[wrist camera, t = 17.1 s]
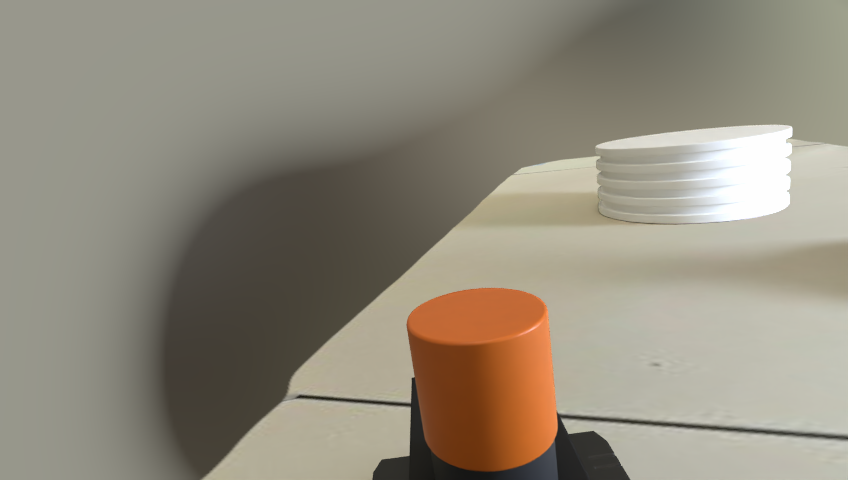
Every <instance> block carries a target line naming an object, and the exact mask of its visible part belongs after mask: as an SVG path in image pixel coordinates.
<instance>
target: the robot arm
mask: <svg viewBox="0 0 848 480" xmlns="http://www.w3.org/2000/svg"><path fill="white" fill-rule="evenodd" d="M556 411H557V410H556ZM557 422H558V429H557V434H556V437H555V449H556V460H557V471H558V480H630V479H629V477H628V475H627V474H626V472H625V470H624V469H623V467H622V466H621V464H620V462H619V460H618V459H617V457H616V456H615V455H614V452H613V450H612V449H611V447H610V445H609V444H608V442H607V441H606V440H605V439H604V438H602V437H601V436H600V435H598V434H597V433H595V432H594V431H590V432H582V433H574V434H568V433H567V431H566V429H565V427H564V425H563V423H562V421H561V418H560V416H559V414H558V412H557ZM373 480H435V474H434V468H433V462H432V455H431V449H430V448H429V446H428V445H427V443H426V441H425V437H424V431H423V425H422V419H421V412H420V406H419V400H418V394H417V387H416V381H415V377H414V378H412V394H411V428H410V456H406V457H399V458H391V459H383V460H381V462H380V463H379V465H378V466H377V468H376V469H375V471H374V472H373Z"/></svg>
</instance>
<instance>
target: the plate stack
mask: <svg viewBox="0 0 848 480" xmlns="http://www.w3.org/2000/svg"><path fill="white" fill-rule="evenodd" d="M791 136H792V127H791V126H786V125H752V126H736V127H722V128H709V129H698V130H688V131H679V132H671V133H662V134H654V135H647V136H640V137H633V138H626V139H622V140H615V141H610V142H606V143H602V144H599V145H597V146H596V147H595V150H596V154H597V155H599V156H600V157H601V158H600V159H598V160H597V161H596V168H597V169H598V170H600V171H601V172H600V173H599V174H597V183H598V184H599V185H601V186H600V187H599V188H598V198H599V199H601V200H600V201H599V203H598V206H599V212H600V213H601V214H602V215H604V216H607V217H610V218H613V219H618V220H623V221H630V222H640V223H656V224H693V223H712V222H724V221H733V220H741V219H748V218H754V217H759V216H763V215H768V214H771V213H775V212H777V211H780V210H782V209H784V208H786V207H787V206H788V205H789V193H788V192H786V190H788V189H789V187H790V177H789V176H787V175H785V174H787V173H788V172H789V171H790V170H791V161H790V160H788V159H786V158H785V157H786V156H788V155H790V154H791V144H790V143H788V142H785V139H787V138H789V137H791Z"/></svg>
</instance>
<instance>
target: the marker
mask: <svg viewBox="0 0 848 480" xmlns="http://www.w3.org/2000/svg"><path fill="white" fill-rule="evenodd" d="M407 331H408V337H409V344H410V350H411V356H412V362H413V369H414V375H415V381H416V387H417V394H418V400H419V406H420V412H421V419H422V425H423V431H424V437H425V441H426V443H427V445H428V446H429V448H430V449H431V455H432V462H433V468H434V474H435V480H558V471H557V460H556V449H555V437H556V434H557V429H558V422H557V411H556V399H555V388H554V376H553V365H552V353H551V342H550V331H549V319H548V310H547V307H546V305H545V304H544V302H543V301H542V300H541V299H540V298H538V297H536V296H534V295H532V294H530V293H527V292H523V291H519V290H513V289H504V288H479V289H470V290H463V291H457V292H453V293H449V294H446V295H442V296H439V297H436V298H434V299H431V300H429V301H427V302H425V303H423V304H422V305H420V306H418V307H417V308H416V309H414V310H413V311H412V312H411V314H410V315H409V317H408V320H407Z"/></svg>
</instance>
